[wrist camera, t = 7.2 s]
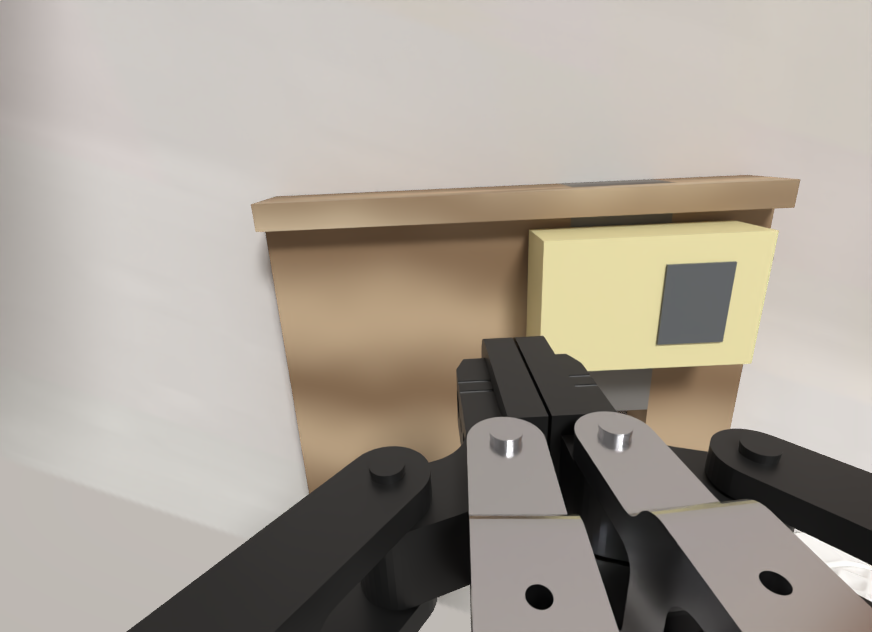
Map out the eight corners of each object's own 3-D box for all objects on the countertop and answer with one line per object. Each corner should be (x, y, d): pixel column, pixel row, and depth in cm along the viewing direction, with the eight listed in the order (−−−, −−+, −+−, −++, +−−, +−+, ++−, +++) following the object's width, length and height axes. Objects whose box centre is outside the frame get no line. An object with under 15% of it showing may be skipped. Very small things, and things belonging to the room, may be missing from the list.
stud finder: (528, 229, 18) (544, 242, 16) (733, 220, 18) (780, 231, 16) (526, 346, 20) (539, 374, 17) (712, 338, 20) (753, 364, 17)
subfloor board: (276, 196, 20) (251, 204, 17) (746, 175, 20) (800, 179, 17) (323, 499, 25) (310, 544, 22) (692, 482, 25) (725, 525, 22)
